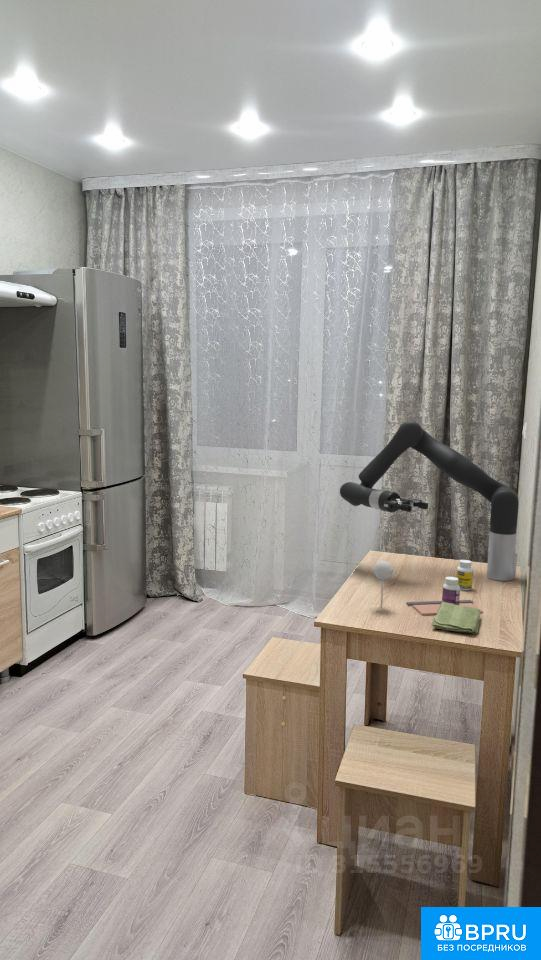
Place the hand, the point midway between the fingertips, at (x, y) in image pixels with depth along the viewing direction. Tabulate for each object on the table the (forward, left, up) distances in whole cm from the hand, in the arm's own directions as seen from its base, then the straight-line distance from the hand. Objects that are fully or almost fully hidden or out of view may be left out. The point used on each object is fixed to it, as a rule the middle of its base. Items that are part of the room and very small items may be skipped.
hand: (419, 507), depth 237 cm
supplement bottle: (-16, +4, -28) cm, 33 cm away
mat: (-1, +24, -28) cm, 37 cm away
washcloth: (+1, +37, -28) cm, 47 cm away
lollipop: (+19, +20, -28) cm, 40 cm away
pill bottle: (-2, +25, -28) cm, 37 cm away
